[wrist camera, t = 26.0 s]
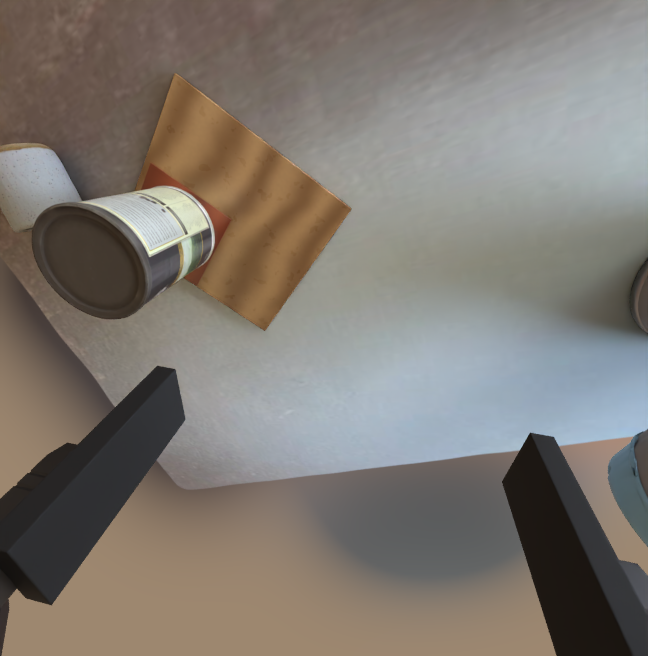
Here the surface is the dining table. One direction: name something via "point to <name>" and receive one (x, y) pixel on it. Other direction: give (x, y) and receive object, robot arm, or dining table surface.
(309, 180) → the placemat
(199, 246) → the coffee can
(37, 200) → the ceramic mug
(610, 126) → the dining table surface
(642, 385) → the dining table surface
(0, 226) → the dining table surface
